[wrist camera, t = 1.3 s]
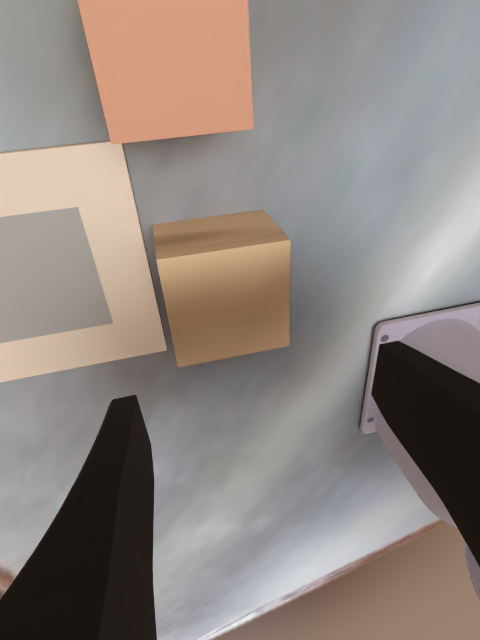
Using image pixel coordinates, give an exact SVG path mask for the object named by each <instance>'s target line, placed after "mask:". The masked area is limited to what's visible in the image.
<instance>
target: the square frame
mask: <svg viewBox="0 0 480 640" xmlns="http://www.w3.org/2000/svg"><path fill="white" fill-rule="evenodd" d="M162 351H167V345H166V341H165V336H164V331H163V327H162V322H161V318H160V313H159V309H158V304H157V300H156V295H155V290H154V286H153V281H152V277H151V272H150V268H149V263H148V259H147V254H146V249H145V245H144V240H143V236H142V231H141V227H140V222H139V218H138V213H137V209H136V204H135V199H134V195H133V190H132V186H131V181H130V177H129V172H128V168H127V163H126V158H125V154H124V149H123V145H122V143H121V144H112V145H111V141H110V140H109V141H100V142H91V143H82V144H72V145H63V146H54V147H44V148H35V149H26V150H17V151H7V152H0V382H5V381H10V380H15V379H21V378H26V377H31V376H36V375H41V374H47V373H52V372H57V371H62V370H68V369H73V368H78V367H83V366H88V365H94V364H99V363H104V362H109V361H115V360H120V359H125V358H130V357H136V356H141V355H146V354H151V353H156V352H162Z"/></svg>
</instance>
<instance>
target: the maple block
mask: <svg viewBox="0 0 480 640" xmlns="http://www.w3.org/2000/svg"><path fill="white" fill-rule="evenodd" d="M152 226H153V235H154V244H155V253H156V261H157V266H158V271H159V276H160V281H161V286H162V291H163V296H164V301H165V306H166V311H167V316H168V321H169V326H170V331H171V336H172V342H173V347H174V352H175V357H176V362H177V367H178V368H179V367H184V366H189V365H194V364H199V363H205V362H210V361H215V360H220V359H225V358H230V357H236V356H241V355H246V354H251V353H256V352H261V351H267V350H272V349H277V348H282V347H287V346H290V256H291V240H290V239H289V237H288V236H287V235H286V234H285V233H284V232H283V231H282V230H281V229H280V228H279V227H278V226H277V225H276V223H275V222H274V221H273V220H272V219H271V218H270V217H269V216H268V215H267V214H266V213H265V212H264V211H263V210H257V211H250V212H242V213H235V214H228V215H220V216H213V217H206V218H198V219H191V220H183V221H176V222H169V223H161V224H154V225H152Z"/></svg>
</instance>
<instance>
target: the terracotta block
mask: <svg viewBox="0 0 480 640" xmlns="http://www.w3.org/2000/svg"><path fill="white" fill-rule="evenodd" d="M78 4H79V9H80V13H81V17H82V22H83V26H84V30H85V34H86V39H87V43H88V47H89V51H90V56H91V60H92V64H93V68H94V73H95V77H96V81H97V86H98V90H99V94H100V98H101V103H102V107H103V111H104V115H105V120H106V124H107V128H108V132H109V137H110V141H111V145H112V144H121V143H130V142H140V141H149V140H158V139H167V138H176V137H185V136H194V135H203V134H213V133H222V132H231V131H240V130H249V129H254V127H253V104H252V82H251V60H250V38H249V15H248V0H78Z"/></svg>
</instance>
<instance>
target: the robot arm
mask: <svg viewBox="0 0 480 640" xmlns="http://www.w3.org/2000/svg"><path fill="white" fill-rule="evenodd" d="M384 335H385V336H384ZM382 336H384V337H383V338H381V337H382ZM360 430H361V431H362V433H363V434H370V433H374V432H376V433H377V435H378V436H379V438H380V439H381V441H382V442H383V444H384V445H385V447H386V448H387V450H388V451H389V453H390V454H391V456H392V457H393V459H394V460H395V462H396V463H397V465H398V466H399V468H400V469H401V471H402V472H403V474H404V475H405V477H406V478H407V480H408V481H409V483H410V484H411V486H412V487H413V489H414V490H415V492H416V493H417V494H418V496H419V497H420V499H421V500H422V502H423V503H424V504H425V505H426V506H427V507H428V509H429V510H431V511H432V512H433V513H434V514H435V515H436V516H438V517H439V518H440V519H442V520H443V521H445V522H446V523H448V524H449V525H451V526H453V527H455V528H457V529H459V531H460V533H461V534H462V536H463V538H464V540H465V542H466V547H465V558H466V563H467V567H468V570H469V575H470V579H471V582H472V584H473V587H474V589H475V592H476V594H477V596H478V598H479V600H480V303H475V304H470V305H465V306H460V307H455V308H450V309H445V310H440V311H435V312H430V313H424V314H419V315H414V316H409V317H404V318H399V319H394V320H389V321H384V322H381V323H380V324H378V325H377V327H376V329H375V333H374V340H373V346H372V353H371V359H370V366H369V372H368V379H367V385H366V392H365V399H364V405H363V412H362V418H361V425H360ZM153 516H154V472H153V461H152V451H151V443H150V440H149V436H148V433H147V430H146V426H145V423H144V420H143V416H142V413H141V410H140V406H139V403H138V400H137V396H136V395H132V396H127V397H123V398H118V399H113V400H112V402H111V403H110V405H109V407H108V410H107V413H106V416H105V418H104V421H103V423H102V426H101V428H100V430H99V433H98V435H97V437H96V440H95V442H94V444H93V446H92V448H91V450H90V453H89V455H88V457H87V459H86V461H85V463H84V465H83V467H82V469H81V471H80V473H79V475H78V477H77V479H76V481H75V483H74V485H73V486H72V488H71V490H70V492H69V494H68V496H67V497H66V499H65V501H64V503H63V505H62V507H61V508H60V510H59V512H58V513H57V515H56V517H55V519H54V520H53V522H52V524H51V525H50V527H49V529H48V530H47V532H46V533H45V535H44V536H43V538H42V540H41V541H40V543H39V544H38V546H37V547H36V549H35V551H34V552H33V554H32V555H31V556H30V558H29V559H28V561H27V562H26V564H25V565H24V567H23V568H22V570H21V571H20V572H19V574H18V575H17V577H16V578H15V580H14V581H13V583H12V584H11V585H10V587H9V588H8V590H7V591H6V592H5V594H4V595H3V597H2V598H1V599H0V640H157V636H156V622H155V608H154V593H153Z"/></svg>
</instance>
